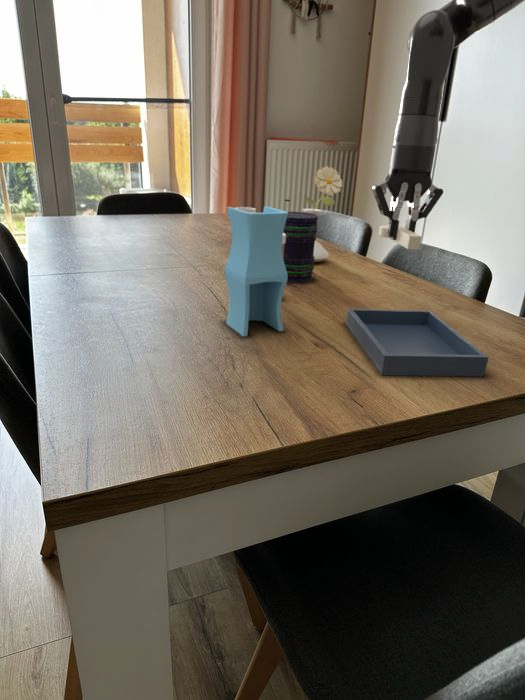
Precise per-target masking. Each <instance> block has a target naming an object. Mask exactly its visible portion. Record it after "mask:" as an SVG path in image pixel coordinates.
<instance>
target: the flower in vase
mask: <svg viewBox="0 0 525 700" xmlns="http://www.w3.org/2000/svg"><path fill="white" fill-rule="evenodd" d="M315 174H316V176H315V180H314V184H315V185H316V187H317V188H318V191H319V192H320V193H321V196H320V198H319V199H318V201H317V202H316V200H315V199H312V198H310V197H308V196H306V195H304V200H305V201H306V202H307V203H309V204H312V205H314V207H313V208H302V211H303V213H310V214H315V215H317V216H318V217H319V215H320V213H321V212H322V209H319V208H317V206H318V205H319V203H320V202H321V203H322V204H323V205H324V206H326V207H329V206H333V205H336V202H335V200H334V199H333V198H332V197H333V196H335V194H338V193H340V192H341V188H342V187H343V179H341V174H339V172H338V171H337V169H334V168H333V167H332V166H330V167H329V166H328V165H326V166H323V167H322V168H321V169H318V170H317V171H316V173H315ZM324 195H326V196H324ZM323 196H324V197H323ZM313 256H314V263H320V262H323V261H326V260H328V258H329V256H330V255H329V252H328V251H327V250H326V248H325V247H323V245H321V244H320V243H319V241H317V239H316V240H315V243H314V254H313Z"/></svg>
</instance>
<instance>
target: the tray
mask: <svg viewBox="0 0 525 700" xmlns="http://www.w3.org/2000/svg"><path fill="white" fill-rule="evenodd" d="M345 325H346V327H347V328H348V330H349V331H350V332H351V334H352V336H353V337H354V338H355V340H356V341H357V342H358V344H359V345H360V347H361V349H363V351H364V353H365V354H366V355H367V356H368V358H369V359H370V361H371V362H372V364H373V365H374V367H375V368H376V369H377V371H378V372H379V374H380V375H381V376H413V377H414V376H419V377H420V376H422V377H438V376H439V377H485V375H486V370H487V367H488V362H489V356H488V355H487V354H485V353H484V352H483V351H482V350H480V349H479V347H477V346H476V345H474V344H473V343H472V342H471V341H469V340H468V339H467V338H465V337H464V336H463V335H462V334H461V333H459V332H458V331H457V330H456V329H454V328H453V327H452V326H451V325H449V324H448V323H447V322H445V321H444V320H443V319H442V318H441V317H439V316H438V315H437V314H436V313H434V312H433V311H432V310H418V309H417V310H416V309H415V310H411V309H410V310H409V309H372V308H371V309H369V308H368V309H367V308H348V309H347V314H346V323H345Z"/></svg>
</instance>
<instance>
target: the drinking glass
mask: <svg viewBox="0 0 525 700" xmlns="http://www.w3.org/2000/svg"><path fill="white" fill-rule="evenodd" d="M234 208H235V209H239V210H242V211H245V212H252V213H256V210H257V209H256V207H249V206H235V207H234Z"/></svg>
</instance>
